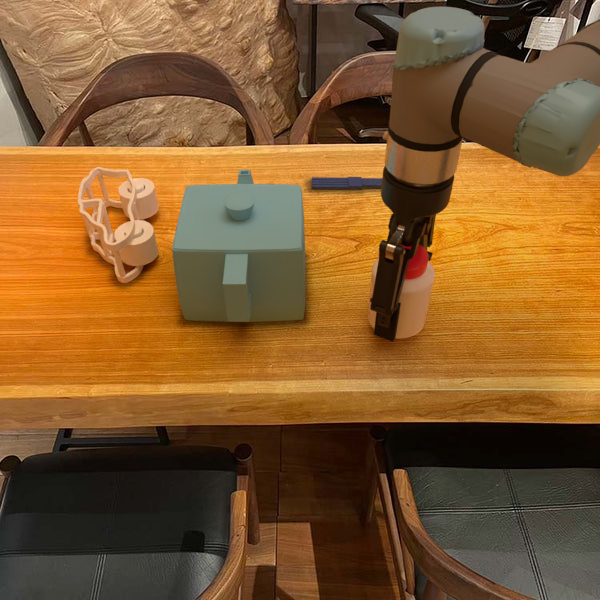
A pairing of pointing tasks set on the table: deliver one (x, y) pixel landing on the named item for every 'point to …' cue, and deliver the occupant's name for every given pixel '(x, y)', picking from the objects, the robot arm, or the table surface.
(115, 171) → the wheeled car silhouette
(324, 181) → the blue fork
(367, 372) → the table surface
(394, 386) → the table surface
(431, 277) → the pill bottle
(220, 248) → the container
